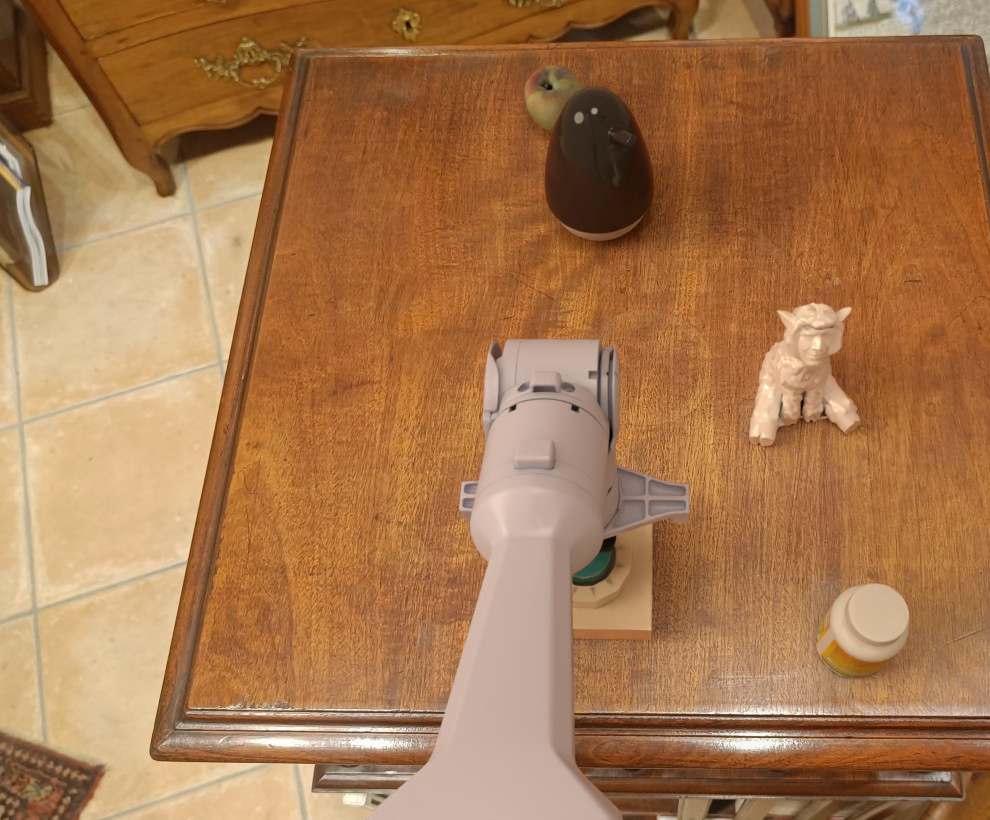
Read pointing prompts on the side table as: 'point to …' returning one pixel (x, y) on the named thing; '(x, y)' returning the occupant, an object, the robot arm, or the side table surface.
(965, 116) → the side table surface
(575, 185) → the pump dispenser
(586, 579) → the teal button
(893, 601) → the supplement bottle
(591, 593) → the push button box
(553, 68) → the apple
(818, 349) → the white creature statuette
